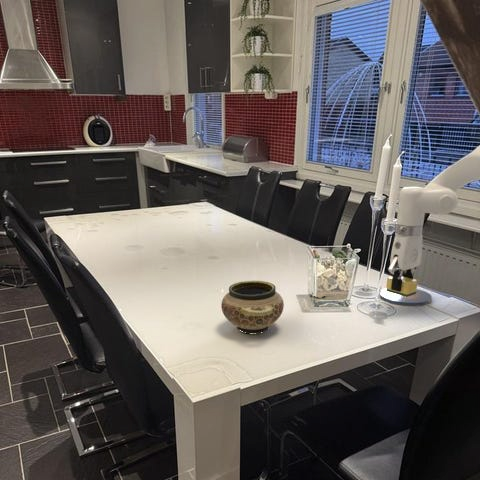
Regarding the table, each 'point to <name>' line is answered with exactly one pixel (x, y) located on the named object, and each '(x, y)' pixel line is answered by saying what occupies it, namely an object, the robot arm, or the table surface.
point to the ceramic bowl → (252, 305)
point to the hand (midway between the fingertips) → (401, 288)
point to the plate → (406, 298)
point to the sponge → (403, 286)
